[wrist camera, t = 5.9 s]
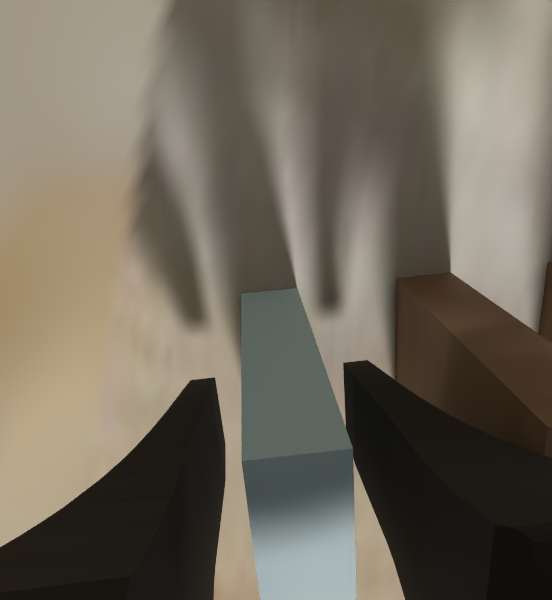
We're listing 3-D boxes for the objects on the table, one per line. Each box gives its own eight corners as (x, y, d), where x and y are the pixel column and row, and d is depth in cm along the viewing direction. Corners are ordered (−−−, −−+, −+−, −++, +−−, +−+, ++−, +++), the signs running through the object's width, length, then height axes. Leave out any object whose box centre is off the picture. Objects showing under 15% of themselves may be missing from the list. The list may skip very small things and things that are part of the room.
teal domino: (296, 287, 13) (353, 448, 7) (305, 416, 15) (357, 649, 8) (241, 293, 13) (241, 461, 6) (255, 422, 15) (268, 661, 8)
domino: (451, 272, 13) (653, 414, 7) (444, 401, 15) (603, 617, 8) (396, 278, 13) (548, 427, 7) (395, 407, 15) (517, 629, 8)
